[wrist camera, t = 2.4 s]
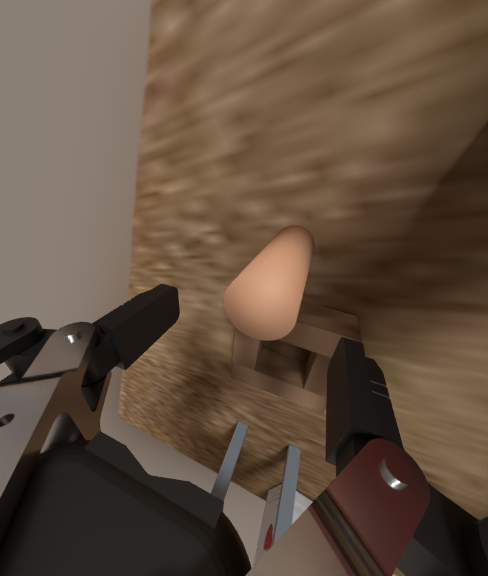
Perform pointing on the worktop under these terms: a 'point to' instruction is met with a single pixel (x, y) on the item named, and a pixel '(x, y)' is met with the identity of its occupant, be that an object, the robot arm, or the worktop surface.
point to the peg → (271, 286)
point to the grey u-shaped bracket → (287, 486)
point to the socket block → (291, 372)
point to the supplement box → (270, 519)
